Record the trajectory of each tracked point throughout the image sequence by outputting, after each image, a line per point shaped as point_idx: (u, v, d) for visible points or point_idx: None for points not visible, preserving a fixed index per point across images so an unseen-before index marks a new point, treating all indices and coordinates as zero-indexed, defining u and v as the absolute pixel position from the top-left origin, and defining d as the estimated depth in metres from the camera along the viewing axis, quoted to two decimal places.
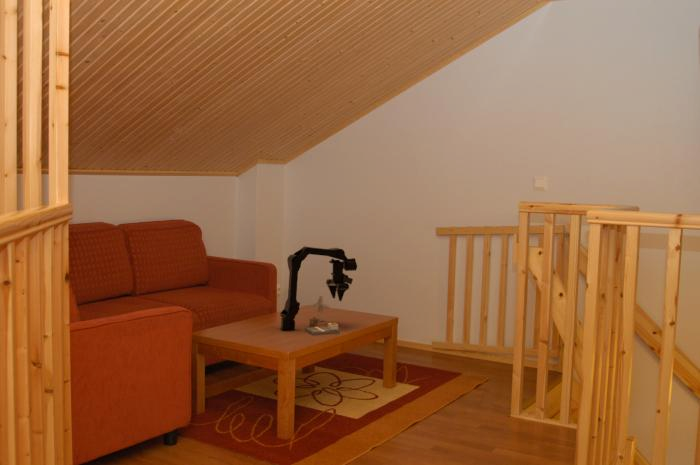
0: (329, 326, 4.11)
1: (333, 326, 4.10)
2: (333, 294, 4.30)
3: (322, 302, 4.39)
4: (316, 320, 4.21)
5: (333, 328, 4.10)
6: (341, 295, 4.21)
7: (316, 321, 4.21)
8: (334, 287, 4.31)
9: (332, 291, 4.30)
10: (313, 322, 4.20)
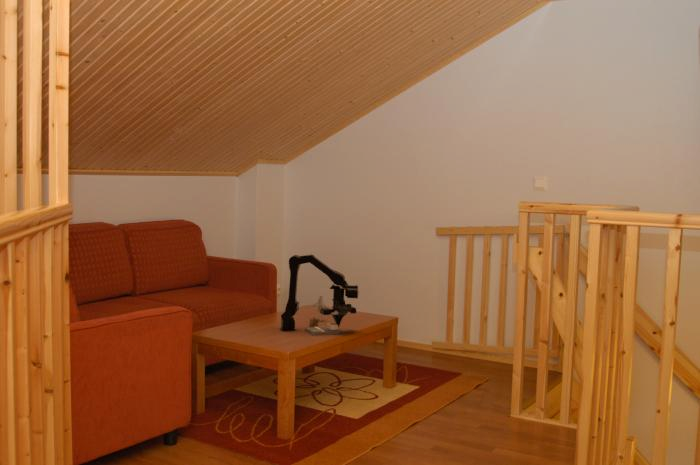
0: (328, 326, 4.11)
1: (332, 326, 4.09)
2: None
3: (322, 302, 4.39)
4: (316, 320, 4.21)
5: (332, 328, 4.10)
6: (335, 320, 4.13)
7: (316, 321, 4.21)
8: (339, 315, 4.13)
9: None
10: (313, 322, 4.20)
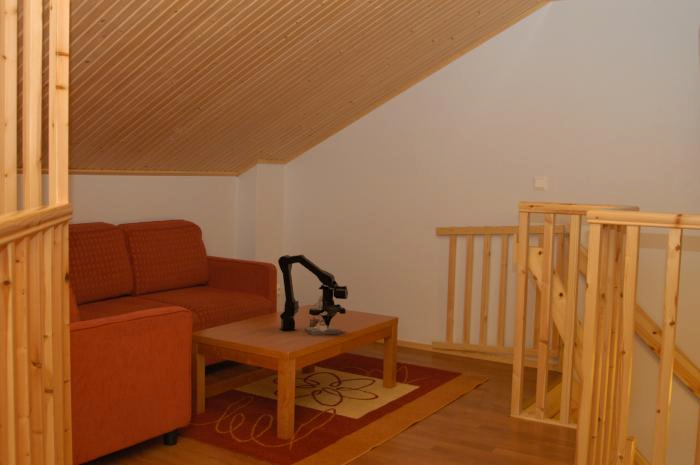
0: (318, 327, 4.09)
1: (322, 327, 4.07)
2: None
3: None
4: (316, 320, 4.21)
5: (322, 329, 4.07)
6: (325, 321, 4.10)
7: (316, 321, 4.21)
8: (328, 316, 4.10)
9: None
10: (313, 322, 4.20)
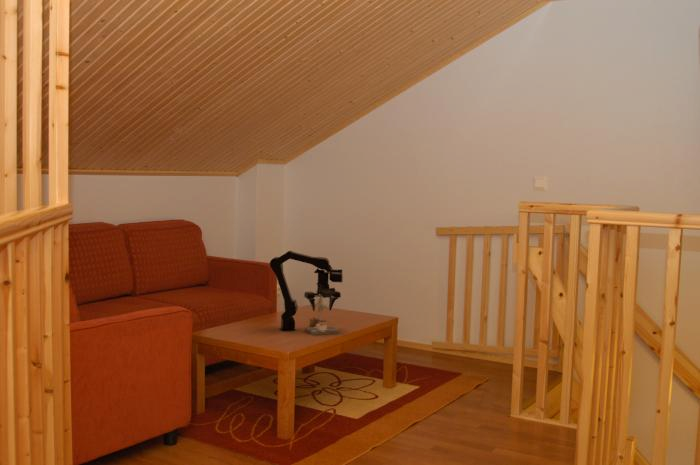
0: (317, 327, 4.09)
1: (321, 327, 4.07)
2: (329, 306, 4.16)
3: (322, 302, 4.39)
4: (316, 320, 4.21)
5: (321, 329, 4.07)
6: (312, 305, 4.12)
7: (316, 321, 4.21)
8: (331, 299, 4.15)
9: (329, 303, 4.16)
10: (313, 322, 4.20)
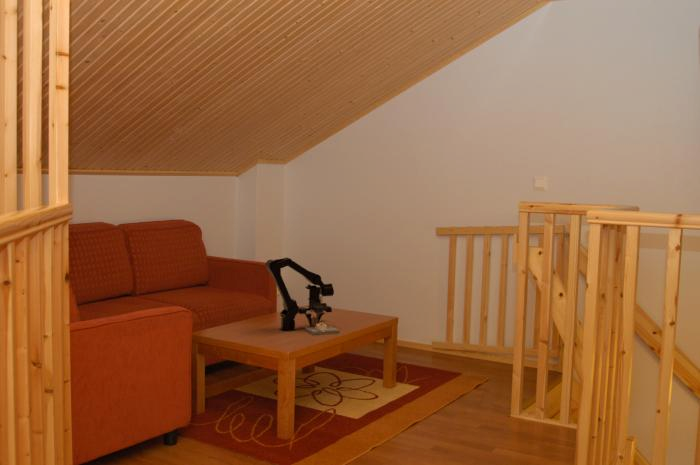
0: (317, 327, 4.09)
1: (321, 327, 4.07)
2: None
3: (322, 302, 4.39)
4: (316, 320, 4.21)
5: (321, 329, 4.07)
6: (308, 319, 4.21)
7: (316, 321, 4.21)
8: (318, 314, 4.22)
9: (316, 317, 4.24)
10: (313, 322, 4.20)
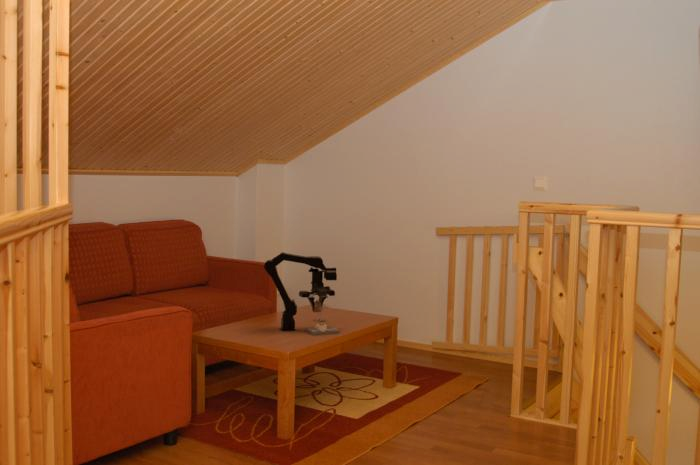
0: (317, 327, 4.09)
1: (321, 327, 4.07)
2: None
3: None
4: (319, 304, 4.15)
5: (321, 329, 4.07)
6: (311, 303, 4.15)
7: (319, 305, 4.15)
8: (321, 298, 4.17)
9: (319, 301, 4.18)
10: (316, 306, 4.14)
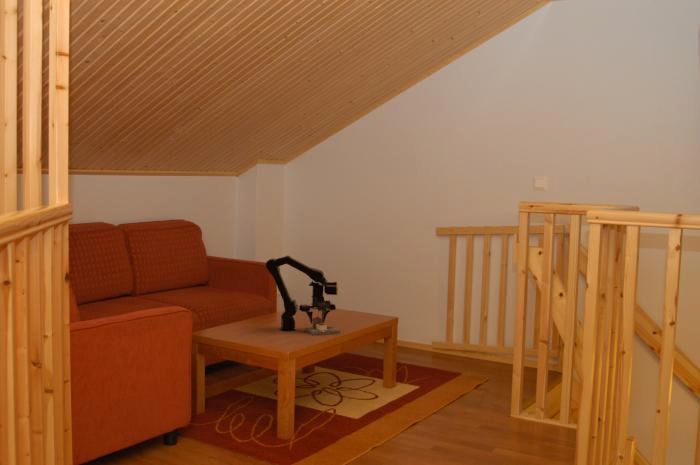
0: (317, 327, 4.09)
1: (321, 327, 4.07)
2: (322, 319, 4.16)
3: None
4: (319, 320, 4.13)
5: (321, 329, 4.07)
6: (309, 317, 4.13)
7: (319, 321, 4.13)
8: (324, 312, 4.16)
9: (322, 315, 4.17)
10: (316, 322, 4.13)
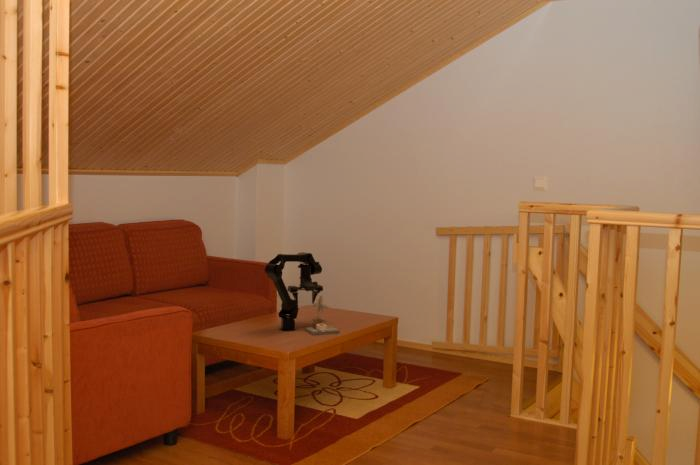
0: (317, 327, 4.09)
1: (321, 327, 4.07)
2: (312, 299, 4.28)
3: (322, 302, 4.39)
4: (319, 320, 4.13)
5: (321, 329, 4.07)
6: (295, 298, 4.23)
7: (319, 321, 4.13)
8: (314, 293, 4.27)
9: (312, 296, 4.28)
10: (316, 322, 4.13)
